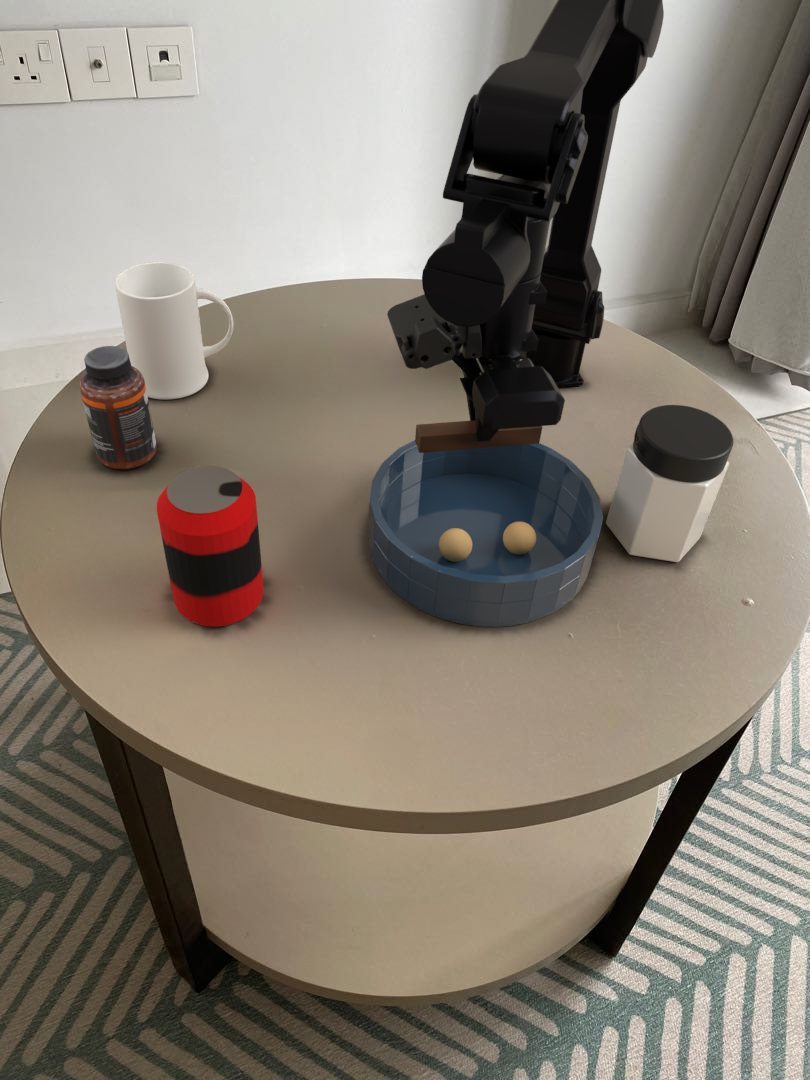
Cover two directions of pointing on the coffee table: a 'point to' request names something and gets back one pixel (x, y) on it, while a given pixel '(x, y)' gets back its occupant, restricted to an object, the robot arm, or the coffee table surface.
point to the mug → (166, 327)
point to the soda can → (211, 545)
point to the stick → (469, 436)
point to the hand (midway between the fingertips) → (480, 433)
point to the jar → (669, 481)
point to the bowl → (483, 531)
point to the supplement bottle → (117, 409)
